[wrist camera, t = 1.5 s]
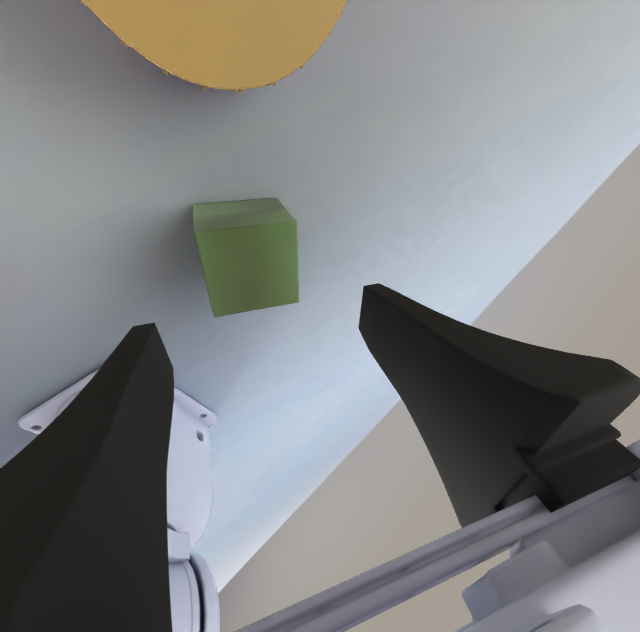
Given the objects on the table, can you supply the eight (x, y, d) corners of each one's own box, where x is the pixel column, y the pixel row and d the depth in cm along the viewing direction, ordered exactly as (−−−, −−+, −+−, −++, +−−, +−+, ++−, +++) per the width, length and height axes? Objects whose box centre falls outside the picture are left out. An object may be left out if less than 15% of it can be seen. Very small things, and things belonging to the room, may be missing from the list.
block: (277, 197, 17) (297, 221, 14) (281, 268, 19) (299, 302, 16) (192, 203, 15) (193, 232, 12) (209, 279, 18) (214, 318, 15)
